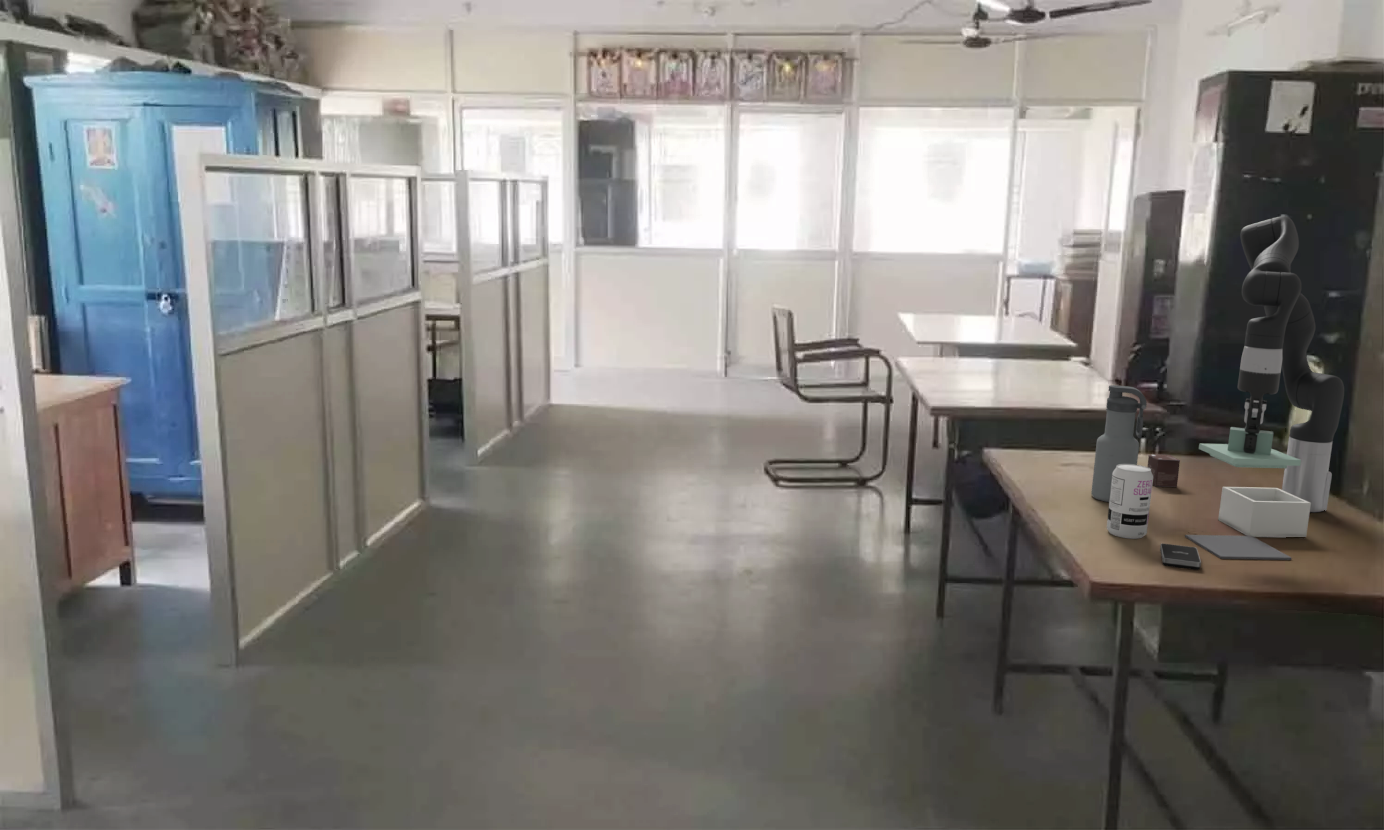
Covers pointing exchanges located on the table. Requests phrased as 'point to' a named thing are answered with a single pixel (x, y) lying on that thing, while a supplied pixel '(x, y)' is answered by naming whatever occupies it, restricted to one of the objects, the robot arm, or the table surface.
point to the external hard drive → (1180, 556)
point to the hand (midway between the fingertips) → (1249, 450)
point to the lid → (1258, 459)
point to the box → (1164, 470)
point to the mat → (1237, 547)
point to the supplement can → (1130, 501)
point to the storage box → (1264, 512)
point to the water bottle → (1117, 438)
